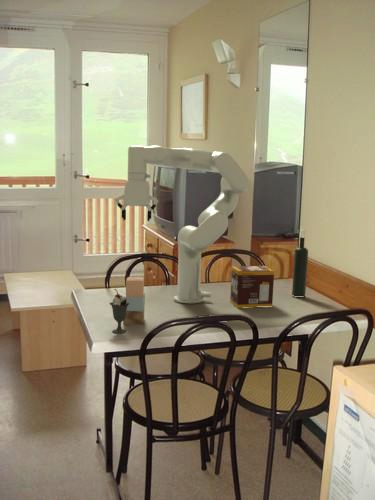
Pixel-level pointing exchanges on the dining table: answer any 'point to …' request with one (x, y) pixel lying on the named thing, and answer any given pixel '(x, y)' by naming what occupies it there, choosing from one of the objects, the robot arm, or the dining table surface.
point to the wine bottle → (300, 268)
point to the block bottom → (134, 317)
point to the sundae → (119, 311)
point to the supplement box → (251, 286)
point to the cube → (134, 287)
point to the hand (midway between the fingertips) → (136, 220)
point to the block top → (135, 303)
